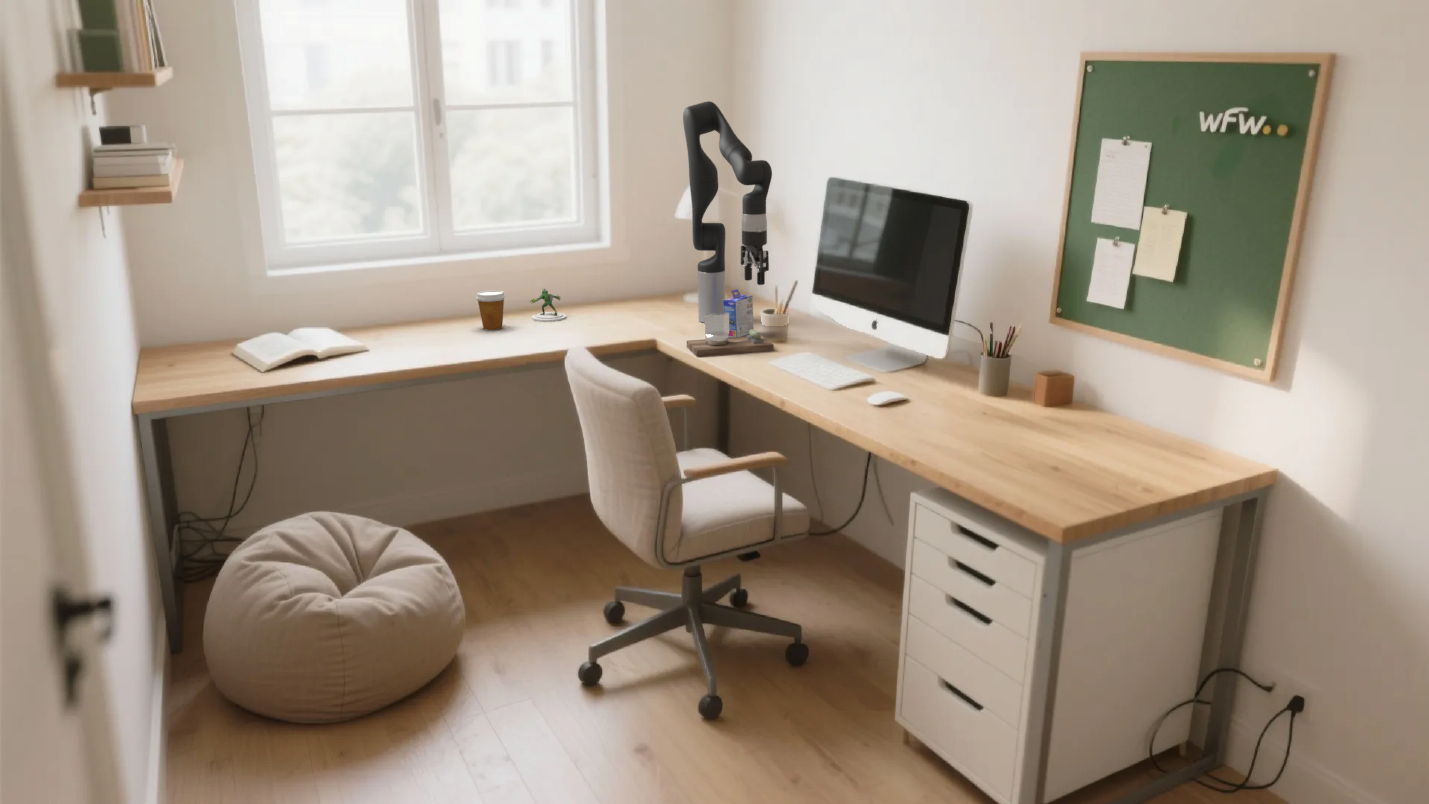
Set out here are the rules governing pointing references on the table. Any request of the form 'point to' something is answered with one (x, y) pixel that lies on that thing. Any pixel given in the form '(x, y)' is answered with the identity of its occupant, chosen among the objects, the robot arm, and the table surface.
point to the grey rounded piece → (716, 329)
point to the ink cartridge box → (739, 314)
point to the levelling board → (732, 345)
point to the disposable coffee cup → (491, 309)
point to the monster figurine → (548, 315)
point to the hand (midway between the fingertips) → (754, 282)
